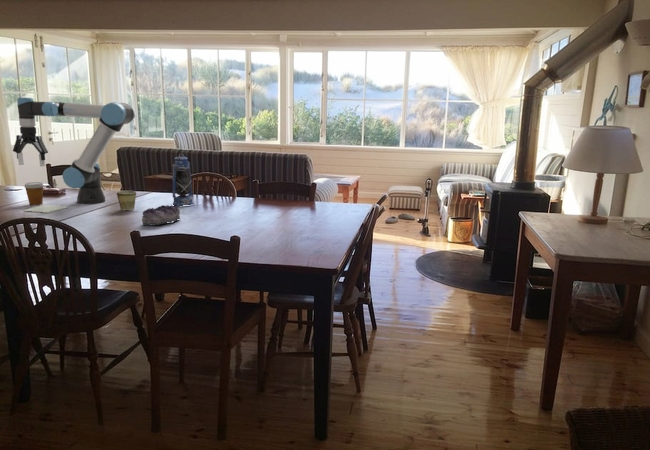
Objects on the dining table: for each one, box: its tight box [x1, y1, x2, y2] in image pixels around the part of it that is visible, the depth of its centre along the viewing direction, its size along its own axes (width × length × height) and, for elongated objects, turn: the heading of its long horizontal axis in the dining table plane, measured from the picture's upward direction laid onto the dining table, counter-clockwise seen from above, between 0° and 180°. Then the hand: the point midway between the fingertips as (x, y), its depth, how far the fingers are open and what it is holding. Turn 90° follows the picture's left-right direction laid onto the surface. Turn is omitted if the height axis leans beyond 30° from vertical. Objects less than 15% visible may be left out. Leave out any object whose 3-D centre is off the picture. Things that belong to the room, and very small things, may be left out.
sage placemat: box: [22, 204, 69, 214], centre depth 267 cm, size 15×15×1 cm
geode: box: [141, 204, 181, 226], centre depth 245 cm, size 20×12×10 cm, turn 152°
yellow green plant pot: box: [116, 190, 137, 211], centre depth 273 cm, size 13×10×10 cm
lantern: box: [171, 153, 194, 206], centre depth 288 cm, size 15×12×30 cm
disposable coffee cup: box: [24, 181, 44, 206], centre depth 279 cm, size 10×10×12 cm
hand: (31, 165), depth 275 cm, fingers open, 13 cm apart
